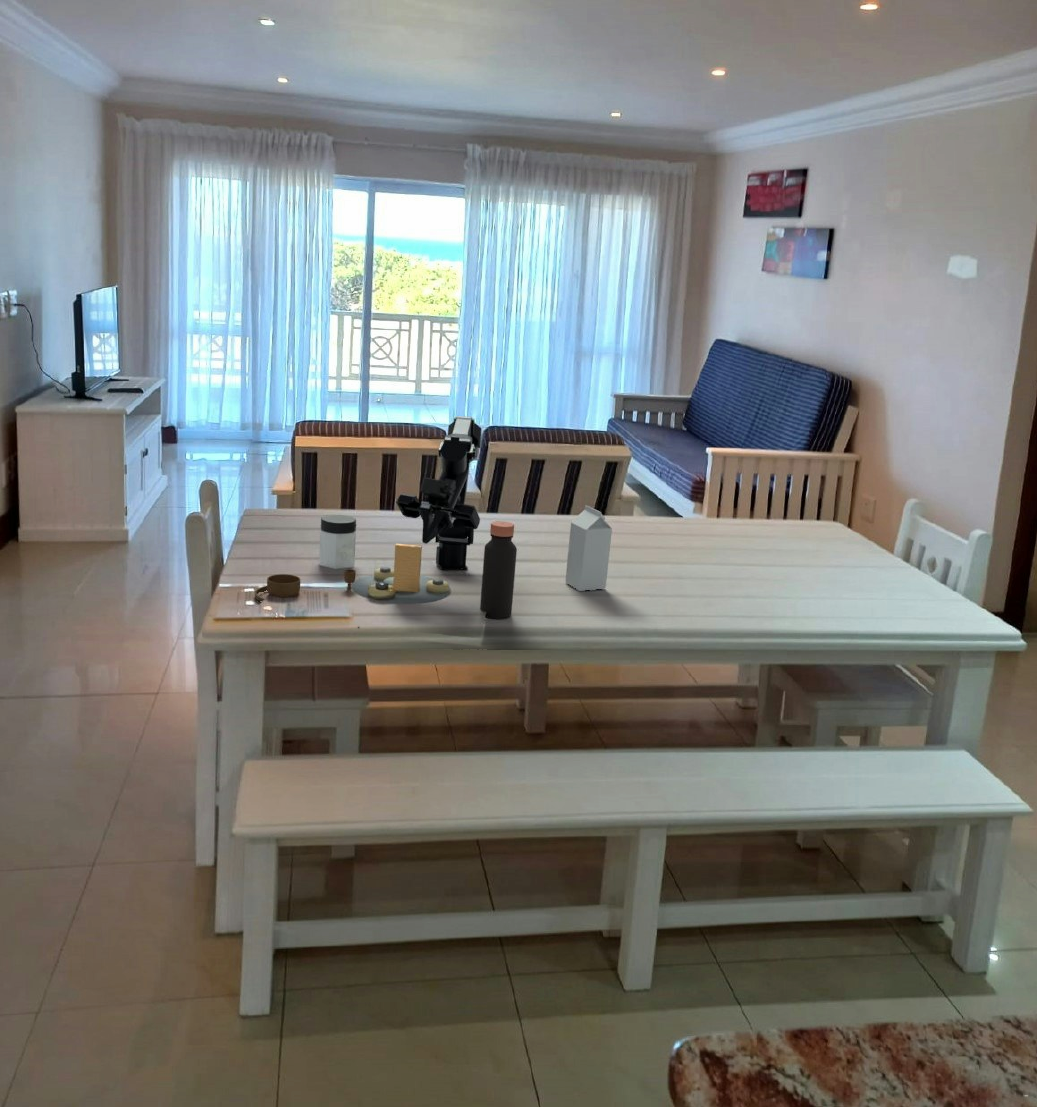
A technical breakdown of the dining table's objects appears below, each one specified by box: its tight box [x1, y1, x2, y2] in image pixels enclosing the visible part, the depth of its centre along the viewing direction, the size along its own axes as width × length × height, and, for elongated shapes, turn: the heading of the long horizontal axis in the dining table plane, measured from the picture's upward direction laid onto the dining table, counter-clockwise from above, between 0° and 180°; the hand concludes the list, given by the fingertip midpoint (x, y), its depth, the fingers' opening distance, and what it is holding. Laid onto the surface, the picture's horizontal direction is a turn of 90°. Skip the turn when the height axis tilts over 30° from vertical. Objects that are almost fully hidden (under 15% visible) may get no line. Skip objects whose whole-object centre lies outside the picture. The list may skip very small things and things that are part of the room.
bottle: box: [479, 520, 518, 620], centre depth 230 cm, size 7×7×20 cm
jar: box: [318, 514, 357, 570], centre depth 254 cm, size 9×8×12 cm
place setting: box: [254, 568, 357, 602], centre depth 231 cm, size 18×20×6 cm
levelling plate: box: [351, 566, 452, 605], centre depth 241 cm, size 22×22×3 cm
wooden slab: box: [367, 543, 423, 600], centre depth 232 cm, size 11×6×12 cm, turn 87°
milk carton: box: [564, 504, 613, 592], centre depth 255 cm, size 7×7×19 cm
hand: (424, 542), depth 238 cm, fingers closed
